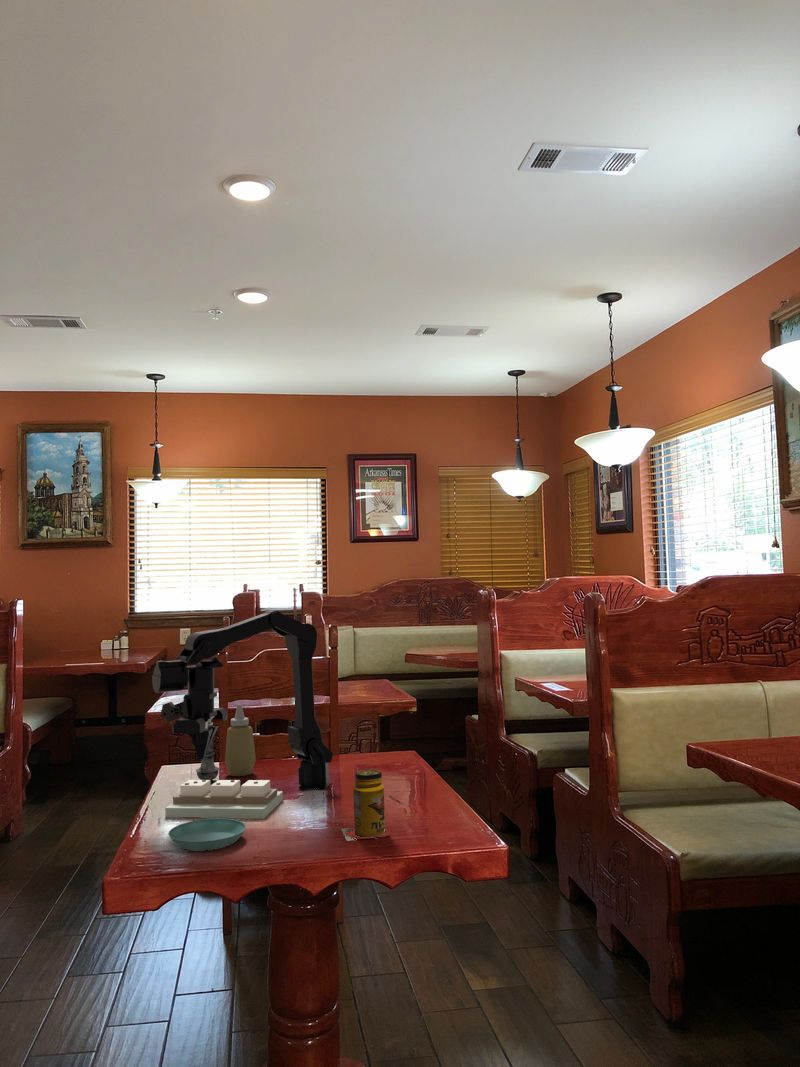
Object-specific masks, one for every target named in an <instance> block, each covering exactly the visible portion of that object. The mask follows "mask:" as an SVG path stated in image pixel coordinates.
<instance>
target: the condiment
mask: <svg viewBox="0 0 800 1067" xmlns="http://www.w3.org/2000/svg"><path fill="white" fill-rule="evenodd" d="M354 778H355V779H354V783H355V784H354V787H353V790H352V791H353V818H354V819H353V820H354V821H353V822H354V823H353V824H354V827H352V828H348V827H346V828H341V832H342V834H343V837H344V836H345V837H344V838H345V840H346V841H347V842H351V841H358V840H357V839H356V838H354V839H356V840H354V839H353V838H352V839H351V837H350V836H348V835H347V836H346V833H347V832H350V831H351V830H352V831H353V829H355V835H357V836H360V837H377V836H380V835H382V834H384V833H385V830H386V820H385V819H386V816H385V815H386V812H385V789H384V784H382V783H383V779H382V778H383V777H382V772H381V770H378V769H373V768H372V769H371V768H368V769H367V768H366V769H360V770H358V771H356V772H355V773H354ZM352 835H353V834H352Z"/></svg>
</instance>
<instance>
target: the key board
mask: <svg viewBox="0 0 800 1067" xmlns="http://www.w3.org/2000/svg"><path fill="white" fill-rule="evenodd" d="M282 800H284V792H283V791H282V790H278V788H270V792H269V793H268V794H267V795H266V796H265V797H241V788H240V792H239V793H238V794H236V795H235V796H234V797H220V796H211V791H210V792H209V793H207V794H206V795H204V796H180V792H178V793H177V794H176V795H174V796H173V797H172V803H170V804H169V805H168V806H166V807H165V814H164V815H165V818H177V817H201V818H200V819H212V818H225V819H265V818H266V817H268V815H270V813H271V812H272V811H273V810H274V809H275V808H277V806H279V804H281V803H282V802H283V801H282ZM281 801H282V802H281ZM280 802H281V803H280Z"/></svg>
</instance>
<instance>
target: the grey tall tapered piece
mask: <svg viewBox="0 0 800 1067" xmlns="http://www.w3.org/2000/svg"><path fill="white" fill-rule="evenodd" d="M215 754H216V753H215V752H214V742H213V740H212V741H211V743H210V746H209V748H208V751H207V753H206V755H205V758H204V759H203V760H200V761H201V763H200V767H199V768H197V769H195V773H196V775H197V777H198V780H210V785H212V784H214V783H215V782H217V781H218V780H216V778H217V777H218V775H219V771H220V769H221V768H220V767H218V766H216V765H215V762H214V758H215Z"/></svg>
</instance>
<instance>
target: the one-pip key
mask: <svg viewBox="0 0 800 1067" xmlns="http://www.w3.org/2000/svg"><path fill="white" fill-rule="evenodd" d="M240 789H241V797H265V796H266V795H267V794H268V793H269V792H270V789H271V780H270V779H265V780H264V779H260V780H259V779H256V780H255V779H254V780H253V779H248V780H247V781H246V782H245V783H243V784H242V785H240Z"/></svg>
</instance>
